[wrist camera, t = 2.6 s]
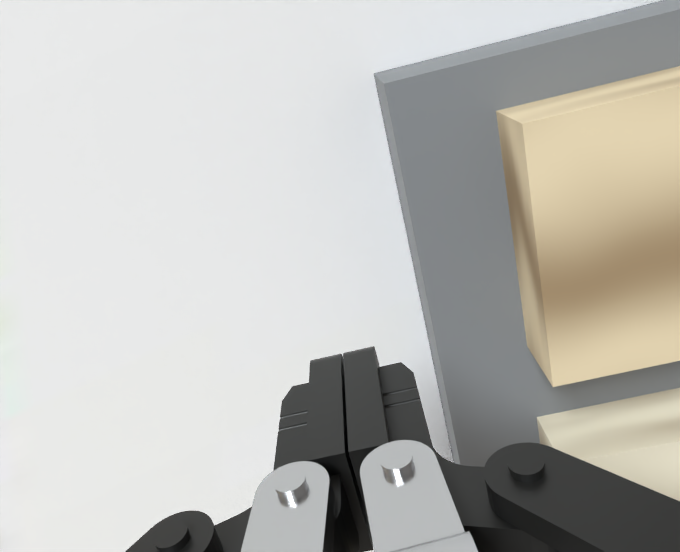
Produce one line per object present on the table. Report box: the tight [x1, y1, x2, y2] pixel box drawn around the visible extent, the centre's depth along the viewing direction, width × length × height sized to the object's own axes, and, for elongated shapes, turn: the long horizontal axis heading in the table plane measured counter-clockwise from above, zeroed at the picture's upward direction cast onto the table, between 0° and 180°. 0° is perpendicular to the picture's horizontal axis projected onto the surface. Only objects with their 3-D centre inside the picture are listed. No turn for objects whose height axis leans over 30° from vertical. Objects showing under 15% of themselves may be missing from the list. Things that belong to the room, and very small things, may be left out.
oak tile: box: [496, 66, 680, 387], centre depth 17 cm, size 8×6×2 cm
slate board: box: [374, 0, 680, 467], centre depth 22 cm, size 22×12×4 cm, turn 13°
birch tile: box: [537, 388, 680, 501], centre depth 21 cm, size 8×6×2 cm
